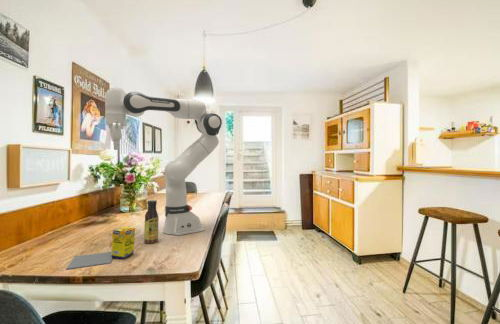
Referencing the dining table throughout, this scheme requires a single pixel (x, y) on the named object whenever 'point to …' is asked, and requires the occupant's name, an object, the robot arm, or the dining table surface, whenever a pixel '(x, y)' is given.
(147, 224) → the sauce bottle
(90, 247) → the dining table surface
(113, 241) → the supplement box
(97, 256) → the slate pad
